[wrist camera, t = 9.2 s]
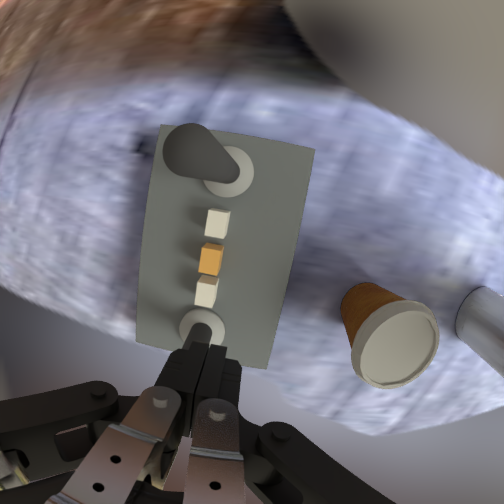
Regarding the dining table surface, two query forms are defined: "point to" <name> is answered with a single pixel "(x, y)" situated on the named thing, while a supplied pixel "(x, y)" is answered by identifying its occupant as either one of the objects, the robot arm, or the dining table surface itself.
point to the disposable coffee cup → (388, 335)
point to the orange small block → (211, 259)
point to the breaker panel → (235, 248)
